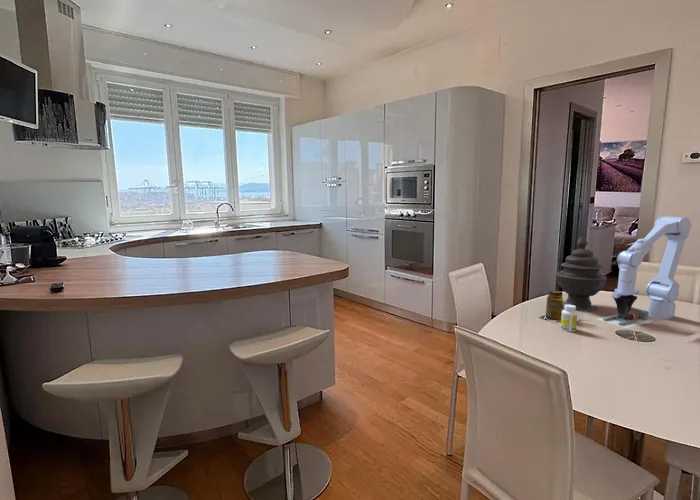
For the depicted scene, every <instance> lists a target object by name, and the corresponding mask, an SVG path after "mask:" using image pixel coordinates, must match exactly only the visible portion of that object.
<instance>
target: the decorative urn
mask: <svg viewBox="0 0 700 500" xmlns="http://www.w3.org/2000/svg"><path fill="white" fill-rule="evenodd" d="M588 243H589V242H588V241H587V239H586V238H584V236H583V235H581V236H580V237H579V239H578V240H577V241H576V245H577V246H578V247H579V249H574V250H572V251H571V252H570V253H571V254H570V255H568V256H566V257H565V262H562V263H561V264H560V265H561V267H562V268H563V270H560V271H557V272H556V273H555V280H556V281H557V285H558V286H559V287H560V288H561V290H562V292H564V293H565V294H567V298H566V300H563V304H562V310H565V309H564V305H567V304H568V305H574V306H576V310H575V311H576V312H581V313H582V312H584V313H592V312H593V313H594V312H595V313H596V312H598V311H599V307H598V306H596V305H592V301H591V298H590V297H593V296H595V295H597V294H598V293H599V292H600V291H602V290H603V289H604V286H605V285H606V284H607V280H608V278H607V276H606V275H604V274H602V273H600V270H601V269H603V268H604V266H603V265H602V264H599V257H597V256H594V251H592V250H590V249H587V248H585V247H587V245H588Z"/></svg>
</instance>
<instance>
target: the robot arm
mask: <svg viewBox="0 0 700 500" xmlns="http://www.w3.org/2000/svg"><path fill="white" fill-rule="evenodd" d="M692 225H693V224H692V222H691V220H690V219H689V217H687V216H683V217H682V216H681V217H679V216H668V215H667V216H666V215H662V216H659V217H658V218H657V219H656V220H655V222H654V226H653V227H652V229H651V230H650V231H649V232H648V234H647V235H646V236H645V237H644V238H639V239H637V240H636V241H635V242H634V243H633V244H632V245H631V246H630V247H628V248H627V250H623V251H621V252H619V253H618V254H617V257H616V262H617V264H618V267H617V268H618V269H619V271H618V281H617V282H618V283H617V288H614V291H613V292H612V293H611V298H613V300H614V302H615V304H616V307H617V308H616V309H617V314H618V313H621V314H624V313H625V310H626V306H629V311H630V309H631V307H633V305H634V303H635V302H636V300H637V299H638V296H636V295H639V294H640V293H639V292H640V289H638V288H636V284H637V282H636V281H637V272H638V267H639V266H641V264H642V263H643V259H644V258H645V256H646V255H647V254H648V253H649V252H650V251H652V249H653V244H654V243H655V242H657V241H658V240H659V239H661V237H663V236H664V237H666V238H667V244H666V248H665V251H664V253H663V254H664V255H663V257H662V261H661V264H660V267H659V270H658V274H657V276H654V277H651V278H650V280H649V282H648V284H647V285H646V287H645V293H646V295H647V296H648V298H649V307H648V311H649V313H648V317H651V318H654V319H660V320H670V319H671V318H675V313H676V302H675V301H676V300H677V299H678V298H679V295H680V283H678V281H676V280H675V275H676V272H677V268H678V265H679V262H680V259H681V256H682V253H683V249H684V245H685V242H686V239H688V238H689V235H690V231H691V228H692ZM629 311H628V313H629Z"/></svg>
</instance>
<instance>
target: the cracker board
mask: <svg viewBox="0 0 700 500" xmlns="http://www.w3.org/2000/svg"><path fill="white" fill-rule="evenodd" d="M630 310H633V311H637V312H639V316H638V320H637V319H633V320H629V321H624V322H622V321H619V320H615V317H617V316H618V313H616V314H613V315H608V316H604V317H598V318H596V320H597V321H600V322H603V323H608V324H610V325H614V326H617V327H620V328H623V329H630V328H634V327H637V326H638V327H639V326H642V325H646V324H650V323H653V322H654V323H655V322H656V320H653V319H650V318H649V315H648V313H649V310H645V309H641V308H636V307H633V306H631V309H630Z"/></svg>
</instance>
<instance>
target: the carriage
mask: <svg viewBox="0 0 700 500" xmlns="http://www.w3.org/2000/svg"><path fill="white" fill-rule="evenodd" d="M628 311H629V306H626V310H625V313H624V314H621V313H618V312H617V314H618V316H617V317H615V320H619V321H622V322H624V321H629V320H633V319H635V314H632V313H628Z"/></svg>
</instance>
